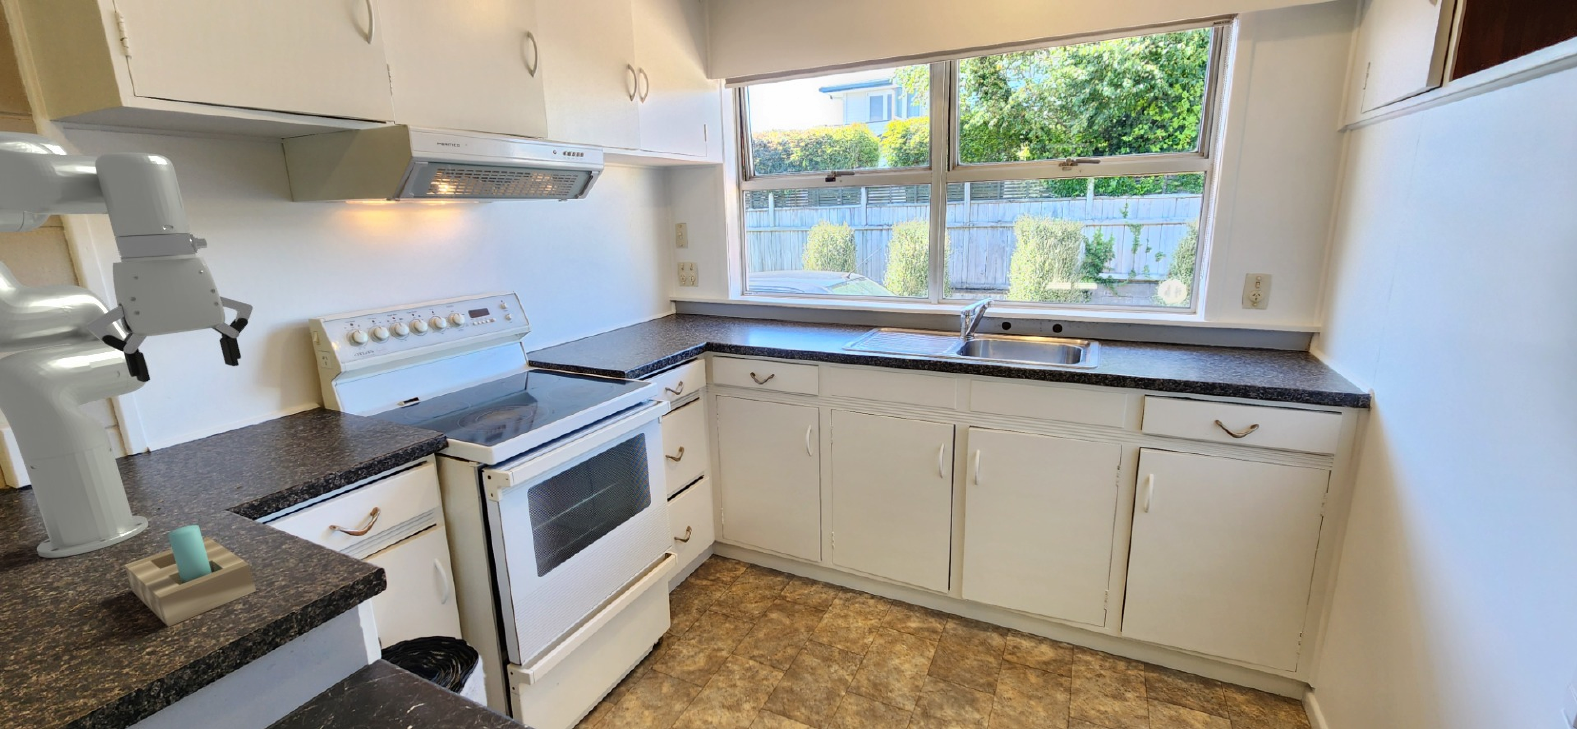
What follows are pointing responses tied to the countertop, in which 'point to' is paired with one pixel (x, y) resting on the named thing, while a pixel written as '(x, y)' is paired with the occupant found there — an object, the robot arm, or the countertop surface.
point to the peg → (189, 553)
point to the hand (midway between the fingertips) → (189, 372)
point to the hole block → (189, 583)
